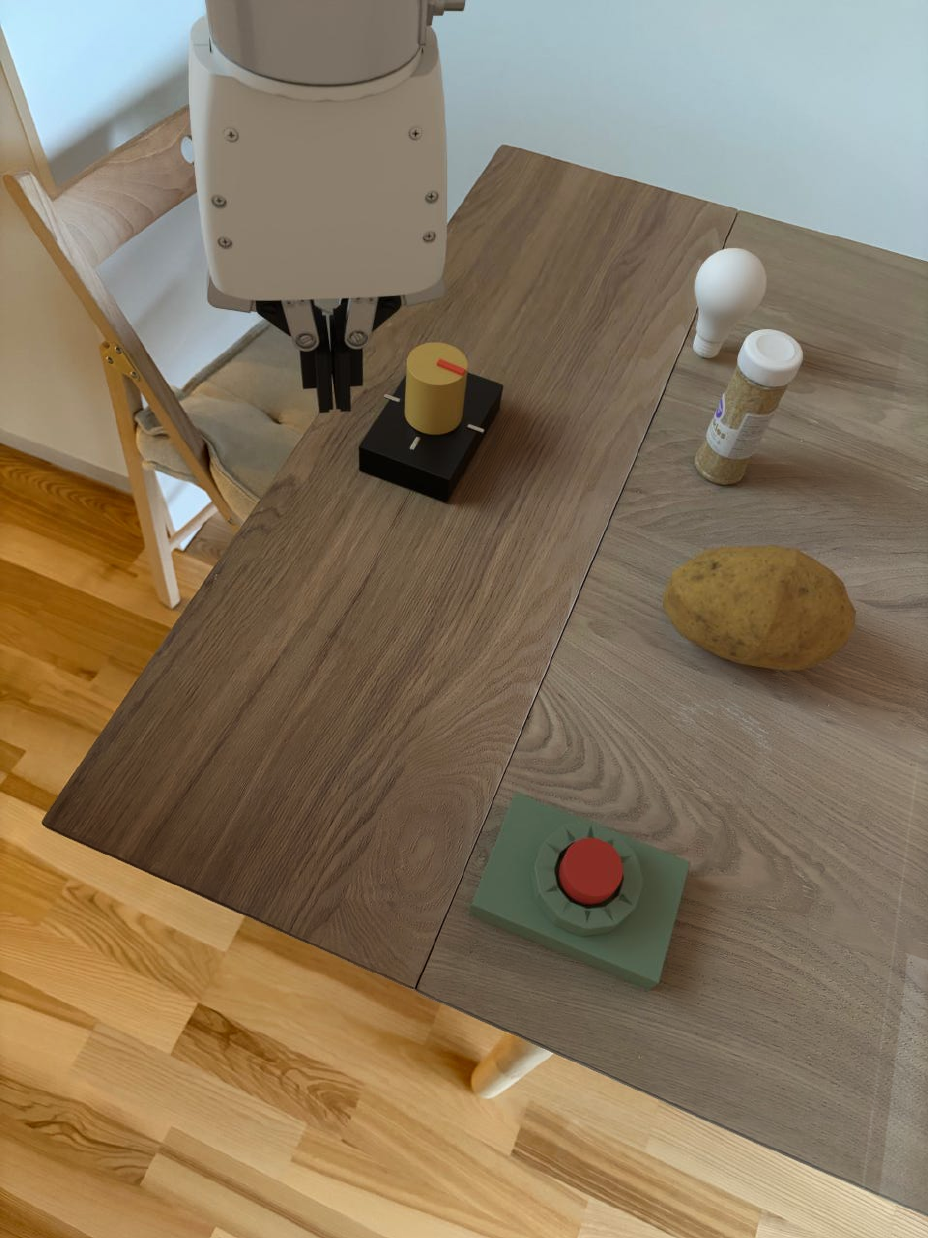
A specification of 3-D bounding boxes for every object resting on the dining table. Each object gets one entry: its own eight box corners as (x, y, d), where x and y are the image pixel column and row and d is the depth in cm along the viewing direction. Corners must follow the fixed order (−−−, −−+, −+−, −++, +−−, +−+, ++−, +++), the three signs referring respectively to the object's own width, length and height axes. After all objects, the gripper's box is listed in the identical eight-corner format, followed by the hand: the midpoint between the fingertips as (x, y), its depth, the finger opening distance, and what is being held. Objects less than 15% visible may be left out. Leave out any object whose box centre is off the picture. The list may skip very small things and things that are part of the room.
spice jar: (686, 449, 83) (737, 327, 71) (735, 446, 83) (792, 324, 72) (702, 489, 80) (756, 369, 69) (752, 485, 81) (814, 366, 70)
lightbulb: (665, 365, 88) (699, 265, 79) (679, 325, 92) (714, 225, 82) (728, 384, 88) (770, 286, 78) (740, 344, 91) (782, 244, 82)
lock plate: (452, 506, 77) (455, 480, 74) (353, 468, 78) (352, 442, 76) (504, 411, 83) (509, 384, 81) (412, 378, 85) (413, 351, 82)
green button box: (468, 914, 59) (473, 896, 56) (510, 804, 63) (518, 780, 60) (649, 991, 58) (666, 976, 54) (681, 872, 62) (699, 852, 59)
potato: (705, 486, 68) (683, 577, 62) (883, 549, 67) (878, 647, 61) (661, 569, 75) (639, 657, 70) (821, 627, 75) (811, 720, 69)
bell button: (550, 891, 57) (555, 882, 55) (569, 838, 59) (574, 828, 57) (607, 914, 56) (613, 906, 55) (623, 860, 58) (630, 851, 57)
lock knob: (394, 420, 77) (395, 366, 73) (421, 385, 80) (425, 331, 75) (445, 443, 77) (451, 390, 72) (472, 406, 79) (478, 353, 74)
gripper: (505, -44, 36) (464, 336, 51) (95, -53, 34) (181, 349, 49) (546, 60, 32) (488, 438, 47) (86, 59, 30) (182, 457, 45)
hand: (332, 392), depth 48 cm, fingers closed
